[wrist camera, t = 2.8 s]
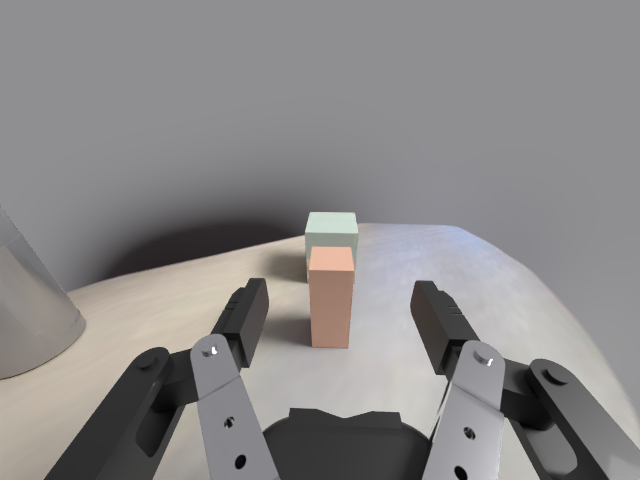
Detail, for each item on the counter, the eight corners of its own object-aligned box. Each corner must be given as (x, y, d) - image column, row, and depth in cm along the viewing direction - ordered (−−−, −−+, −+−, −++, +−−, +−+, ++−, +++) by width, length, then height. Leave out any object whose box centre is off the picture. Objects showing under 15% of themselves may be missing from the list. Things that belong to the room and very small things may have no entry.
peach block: (348, 348, 28) (354, 270, 22) (312, 347, 29) (308, 269, 23) (346, 319, 32) (350, 247, 26) (314, 318, 32) (312, 246, 27)
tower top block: (356, 261, 36) (358, 233, 34) (306, 259, 37) (304, 232, 34) (353, 237, 43) (354, 212, 41) (311, 236, 44) (310, 212, 41)
